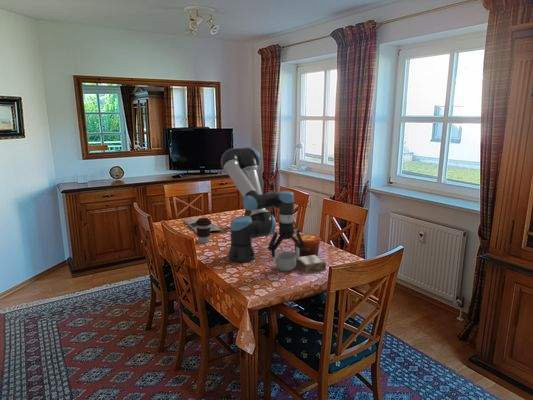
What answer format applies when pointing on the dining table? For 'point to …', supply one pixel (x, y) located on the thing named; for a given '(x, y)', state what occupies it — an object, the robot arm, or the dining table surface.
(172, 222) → the dining table surface
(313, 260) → the pedestal
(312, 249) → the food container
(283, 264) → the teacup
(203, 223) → the coffee cup
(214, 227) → the newspaper
